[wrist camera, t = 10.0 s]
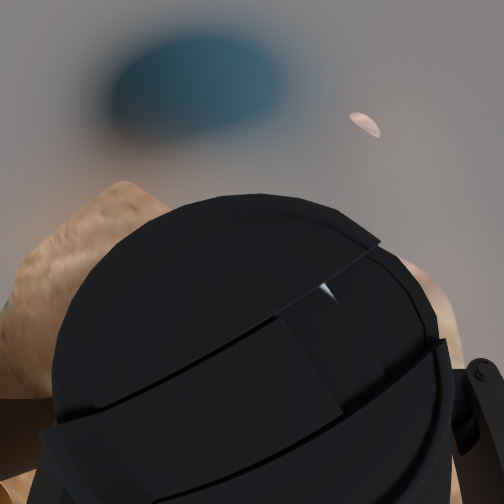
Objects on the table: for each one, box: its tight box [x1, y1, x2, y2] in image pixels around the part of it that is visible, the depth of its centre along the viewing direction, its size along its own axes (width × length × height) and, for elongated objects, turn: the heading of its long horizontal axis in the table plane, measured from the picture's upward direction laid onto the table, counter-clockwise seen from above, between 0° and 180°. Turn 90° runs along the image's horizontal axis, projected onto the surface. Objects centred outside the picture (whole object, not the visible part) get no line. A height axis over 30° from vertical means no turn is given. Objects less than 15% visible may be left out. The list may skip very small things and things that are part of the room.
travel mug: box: [38, 194, 455, 504], centre depth 12 cm, size 6×7×20 cm
